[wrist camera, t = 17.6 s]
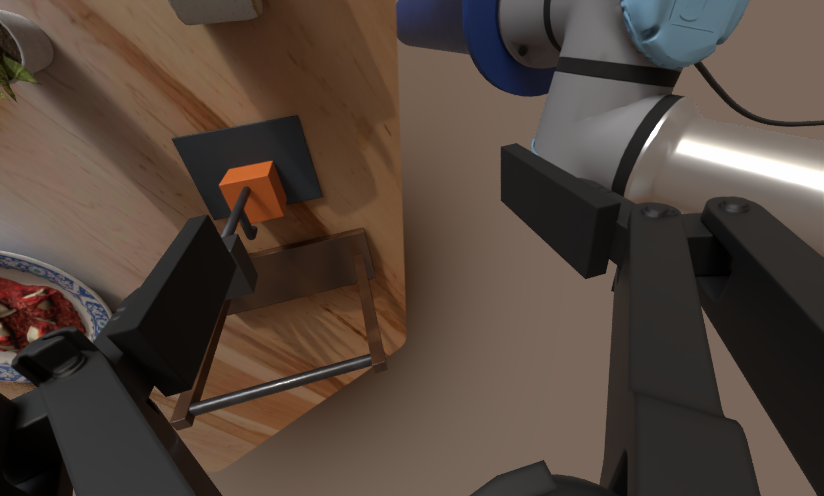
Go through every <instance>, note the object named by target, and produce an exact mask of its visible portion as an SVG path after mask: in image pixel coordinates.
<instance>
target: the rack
mask: <svg viewBox="0 0 824 496" xmlns="http://www.w3.org/2000/svg"><path fill="white" fill-rule="evenodd" d="M248 255H249V257H250V259H251V261H252V263H253V266H254V268H255V270H256V272H257V274H258V278H257V282H256V286H255V290H254V293H253V294H250V295H246V296H242V297H237V298H233V299H229V300H225V301H224V303H223V306H222V308H221V311H220V314H219V317H218V319H217V322H216V325H215V328H214V330H213V333H212V336H211V339H210V341H209V344H208V347H207V350H206V352H205V355H204V358H203V361H202V363H201V366H200V369H199V372H198V374H197V377H196V380H195V383H194V385H193V388H192V390H189V391H185V392H182V393H181V394H180V396H179V399H178V402H177V405H176V407H175V410H174V413H173V415H172V418H171V421H170V424H171V425H172V426H173V427H174V428H175V429H176V430H181V429H185V428H188V427H191V426H192V425H193V422H194V418H195V416H197V415H201V414H204V413H208V412H211V411H215V410H218V409H222V408H225V407H229V406H232V405H236V404H239V403H243V402H247V401H250V400H254V399H257V398H261V397H264V396H268V395H271V394H275V393H278V392H282V391H285V390H289V389H292V388H296V387H299V386H303V385H306V384H310V383H313V382H317V381H320V380H324V379H327V378H331V377H334V376H338V375H341V374H345V373H348V372H352V371H355V370H359V369H362V368H366V367H369V366H373V370H374V373H378V372H382V371H385V370H388V368H387V363H386V359H385V354H384V349H383V345H382V340H381V336H380V331H379V326H378V322H377V317H376V312H375V308H374V303H373V298H372V294H371V289H370V285H369V280H371V279H375V278H376V277H375V273H374V269H373V265H372V261H371V257H370V252H369V248H368V244H367V240H366V236H365V232H364V228H359V229H355V230H350V231H346V232H342V233H337V234H333V235H329V236H324V237H320V238H316V239H311V240H307V241H303V242H299V243H294V244H290V245H286V246H281V247H277V248H273V249H268V250H264V251H260V252H255V253H251V254H248ZM355 283H358V286H359V292H360V298H361V303H362V309H363V315H364V321H365V327H366V332H367V338H368V344H369V350H370V354H367V355H363V356H360V357H356V358H353V359H349V360H345V361H342V362H338V363H335V364H331V365H328V366H324V367H320V368H317V369H313V370H310V371H306V372H303V373H299V374H295V375H292V376H288V377H285V378H281V379H278V380H274V381H270V382H267V383H263V384H260V385H256V386H253V387H249V388H246V389H242V390H238V391H235V392H231V393H228V394H224V395H221V396H217V397H213V398H210V399H206V400H203V401H200V399H201V396H202V393H203V390H204V386H205V383H206V380H207V377H208V374H209V370H210V367H211V364H212V361H213V358H214V354H215V351H216V348H217V345H218V342H219V338H220V335H221V332H222V329H223V326H224V322H225V319H226V316H228V315H232V314H236V313H240V312H244V311H248V310H252V309H256V308H260V307H264V306H268V305H272V304H276V303H280V302H284V301H288V300H292V299H296V298H300V297H304V296H307V295H311V294H315V293H319V292H323V291H327V290H331V289H335V288H339V287H343V286H347V285H351V284H355Z"/></svg>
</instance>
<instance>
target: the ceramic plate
mask: <svg viewBox="0 0 824 496" xmlns="http://www.w3.org/2000/svg"><path fill="white" fill-rule="evenodd" d="M112 315H113V314H112V312H111V310H110V308H109V307H108V306H107V304H106V303H105V302H104V301H103V299H102V298H101V297H100V296H99V295H98V294H97V293H96V292H95V291H93V290H92V289H91V288H90V287H89V286H87V285H86V284H85V283H83V282H82V281H80V280H79V279H77V278H75V277H74V276H72V275H70V274H69V273H67V272H65V271H63V270H61V269H59V268H56V267H54V266H52V265H50V264H47V263H44V262H42V261H39V260H36V259H33V258H30V257H27V256H23V255H19V254H15V253H11V252H6V251H1V250H0V381H5V382H30V381H29V380H27V379H26V378H25V377H23V376H22V375H21V374H19V373H18V372H17V371H15V370H14V369H13V368H12V367H11V363H12V360H13V359H14V358H15V356H16V355H17V354H18V353H19V352H20V351H21V350H22V349H24V348H25V347H26V346H27V345H28V344H30V343H32V342H33V341H35V340H36V339H38V338H40V337H41V336H43V335H45V334H48V333H50V332H52V331H54V330H57V329H60V328H64V327H72V326H74V327H76V328H78V329H79V330H80V331H81V332H82V333H83V334H84V335H85V336H86V337H87V338H88V339H89V340H90V341H91V342H93V341H94V340H95V338H96V337H97V336H98V334H99V333H100V332H101V330H102V329H103V328H104V326H105V325H106V324H107V322H110V318H111V317H112Z"/></svg>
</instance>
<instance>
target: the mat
mask: <svg viewBox="0 0 824 496" xmlns="http://www.w3.org/2000/svg"><path fill="white" fill-rule="evenodd" d="M172 141H173V143H174V145H175V146H176V148H177V150H178V152H179V154H180V156H181V158H182V160H183V162H184V164H185V166H186V167H187V169H188V171H189V173H190V175H191V177H192V179H193V181H194V183H195V185H196V187H197V188H198V190H199V192H200V194H201V196H202V198H203V200H204V202H205V204H206V206H207V207H208V209H209V211H210V213H211V215H212V217H213V219H214V220H218V219H222V218H227V217H230V214H231V210H230V208H229V205H228V203H227V201H226V199H225V197H224V195H223V193H222V191H221V189H220V187H219V184H220V183H221V181H222V179H223V178H224V176H225V175H226V173H227V171H228V170H229V169H233V168H238V167H243V166H248V165H253V164H258V163H263V162H268V161H273V162H274V165H275V168H276V171H277V173H278V176H279V179H280V181H281V184H282V187H283V190H284V192H285V195H286V198H287V201H286V205H287V204H292V203H296V202H301V201H306V200H310V199H315V198H319V197H322V194H321V190H320V187H319V184H318V180H317V177H316V174H315V171H314V167H313V164H312V161H311V157H310V154H309V151H308V147H307V144H306V141H305V138H304V134H303V131H302V128H301V124H300V121H299V118H298V115H297V116H291V117H286V118H280V119H275V120H270V121H264V122H259V123H253V124H248V125H242V126H237V127H231V128H226V129H221V130H215V131H210V132H204V133H199V134H193V135H188V136H182V137H177V138H172Z"/></svg>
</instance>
